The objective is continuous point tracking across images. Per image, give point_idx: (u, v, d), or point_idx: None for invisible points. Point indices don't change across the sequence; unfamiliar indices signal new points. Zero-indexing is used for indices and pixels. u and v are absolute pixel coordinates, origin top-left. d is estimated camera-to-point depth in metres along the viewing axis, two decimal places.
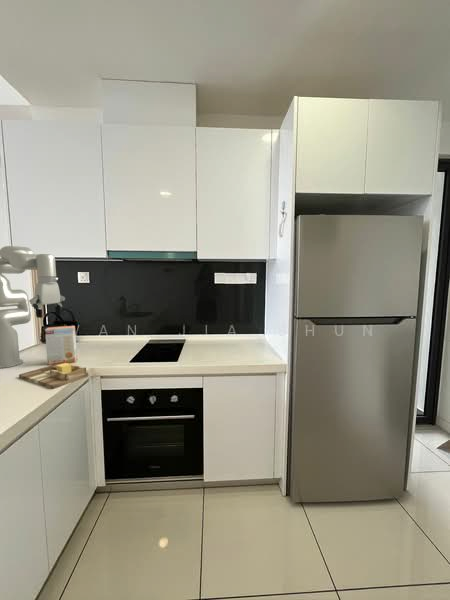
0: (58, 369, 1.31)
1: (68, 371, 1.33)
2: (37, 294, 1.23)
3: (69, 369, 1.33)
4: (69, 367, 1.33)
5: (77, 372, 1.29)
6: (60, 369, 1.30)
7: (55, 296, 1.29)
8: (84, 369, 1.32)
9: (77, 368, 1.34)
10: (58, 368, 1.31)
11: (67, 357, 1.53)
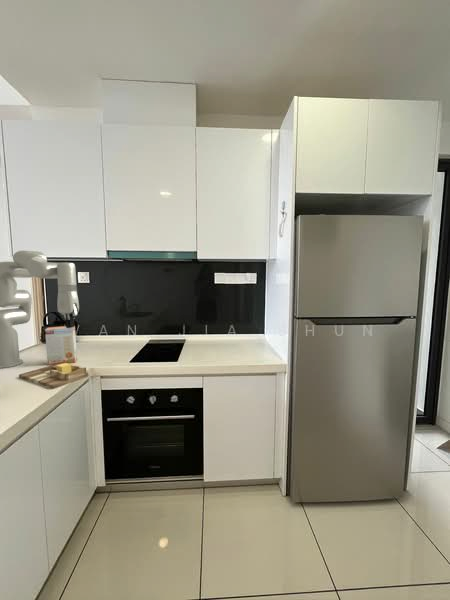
0: (58, 369, 1.31)
1: (68, 371, 1.33)
2: (74, 302, 1.24)
3: (69, 369, 1.33)
4: (69, 367, 1.33)
5: (77, 372, 1.29)
6: (60, 369, 1.30)
7: None
8: (84, 369, 1.32)
9: (77, 368, 1.34)
10: (58, 368, 1.31)
11: (67, 357, 1.53)
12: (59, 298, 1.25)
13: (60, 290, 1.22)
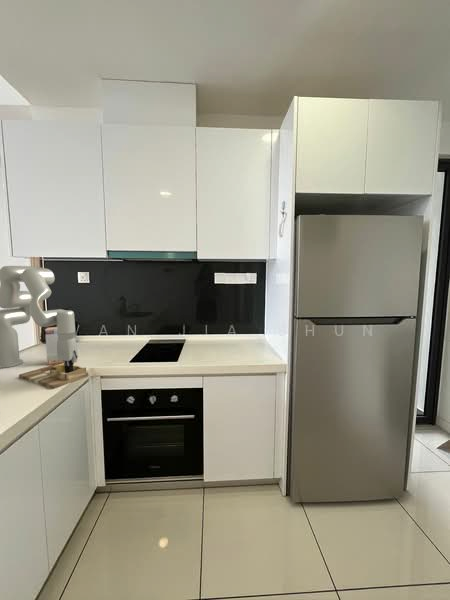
0: (58, 369, 1.31)
1: None
2: (73, 350, 1.27)
3: None
4: None
5: (77, 372, 1.29)
6: (59, 368, 1.31)
7: None
8: (84, 369, 1.32)
9: (77, 368, 1.34)
10: (58, 368, 1.31)
11: None
12: (58, 345, 1.28)
13: (59, 338, 1.26)
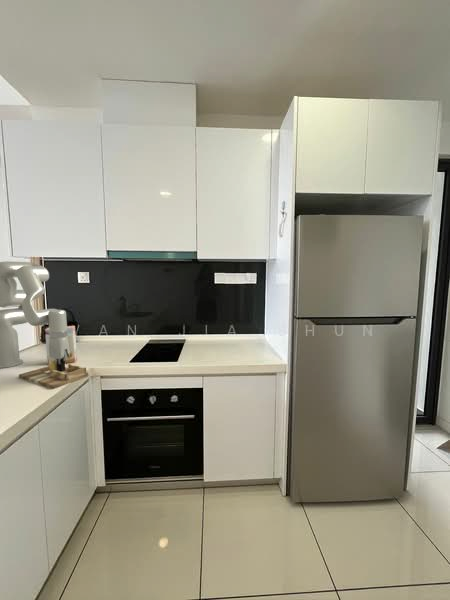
0: (51, 366, 1.35)
1: None
2: (65, 348, 1.31)
3: None
4: None
5: (77, 372, 1.29)
6: (52, 365, 1.34)
7: None
8: (84, 369, 1.32)
9: (77, 368, 1.34)
10: (50, 365, 1.35)
11: None
12: (50, 344, 1.32)
13: (51, 337, 1.29)
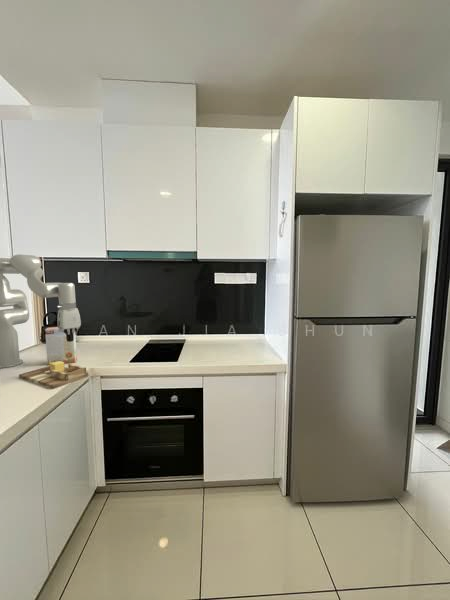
0: (51, 367, 1.34)
1: (61, 369, 1.36)
2: None
3: (62, 367, 1.36)
4: (62, 365, 1.36)
5: (77, 372, 1.29)
6: (53, 367, 1.34)
7: None
8: (84, 369, 1.32)
9: (77, 368, 1.34)
10: (51, 366, 1.34)
11: (67, 357, 1.53)
12: (67, 315, 1.37)
13: (73, 307, 1.38)
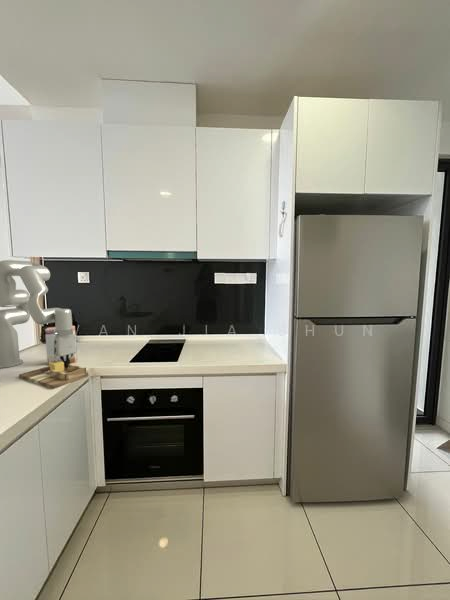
0: (51, 367, 1.34)
1: (61, 369, 1.35)
2: None
3: (62, 367, 1.36)
4: (62, 365, 1.36)
5: (77, 372, 1.29)
6: (53, 367, 1.33)
7: None
8: (84, 369, 1.32)
9: (77, 368, 1.34)
10: (51, 366, 1.34)
11: None
12: (63, 342, 1.35)
13: (69, 334, 1.37)
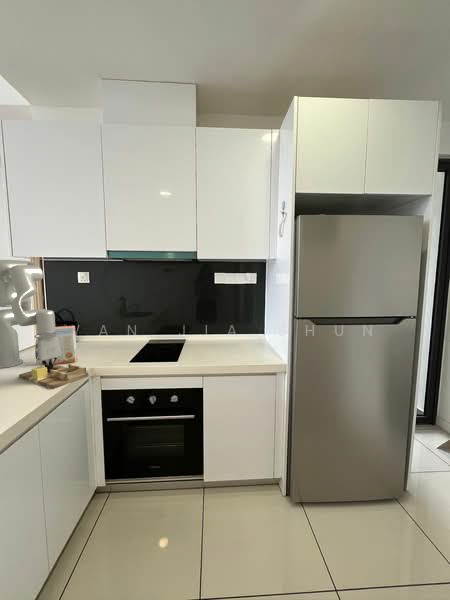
0: (33, 373, 1.26)
1: (44, 375, 1.28)
2: None
3: (45, 373, 1.28)
4: (45, 370, 1.28)
5: (77, 372, 1.29)
6: (35, 372, 1.26)
7: None
8: (84, 369, 1.32)
9: (77, 368, 1.34)
10: (33, 372, 1.26)
11: (67, 357, 1.53)
12: (45, 346, 1.28)
13: (52, 337, 1.29)
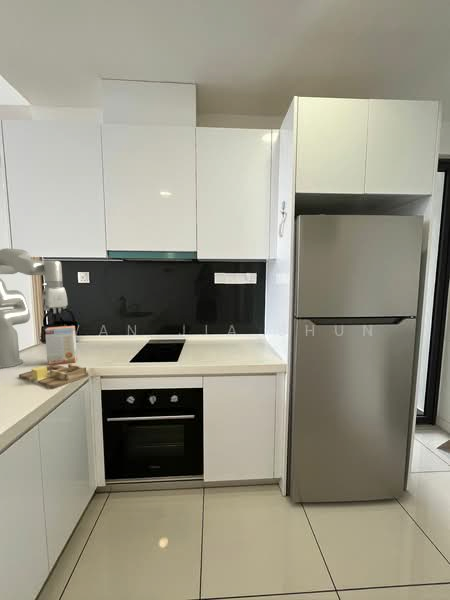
0: (33, 373, 1.26)
1: (44, 375, 1.28)
2: None
3: (45, 373, 1.28)
4: (45, 370, 1.28)
5: (77, 372, 1.29)
6: (35, 373, 1.26)
7: None
8: (84, 369, 1.32)
9: (77, 368, 1.34)
10: (33, 372, 1.26)
11: (67, 357, 1.53)
12: (52, 294, 1.33)
13: (59, 286, 1.35)
